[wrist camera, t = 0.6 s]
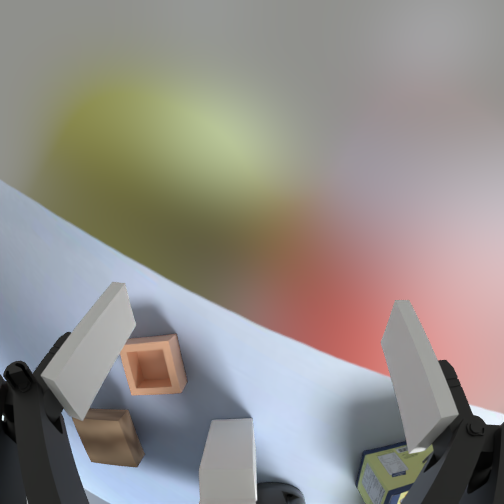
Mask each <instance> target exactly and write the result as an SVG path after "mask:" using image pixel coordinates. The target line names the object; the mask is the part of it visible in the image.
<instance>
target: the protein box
mask: <svg viewBox="0 0 504 504" xmlns="http://www.w3.org/2000/svg"><path fill="white" fill-rule="evenodd" d="M432 451H433V446H432V444H431V445H430V446H429V447H428V448H427V449H426V450H425V451H421V452H416V453H411V454H409V452H408V447H407V442H406V441H405V442H401V443H397V444H393V445H389V446H385V447H381V448H376V449H372V450H367V451H364V452H363V455H362V459H361V464H360V469H359V473H358V477H357V482H356V487H357V489H358V490H359V492H360V494H361V496H362V498H363V500H364V502H365V504H400V503H401V502H402V500H403V499H404V497H405V496H406V494H407V493H408V491H409V490H410V488H411V487H412V485H413V483H414V482H415V480H416V479H417V477H418V475H419V473H420V472H421V470H422V468H423V467H424V465H425V463H426V462H425V463H423V462H422V461H423V460H424V459H425V458H426V457H427V456H428V455H429V454H430V453H431V452H432Z"/></svg>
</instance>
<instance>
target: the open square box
mask: <svg viewBox="0 0 504 504" xmlns="http://www.w3.org/2000/svg"><path fill="white" fill-rule="evenodd" d="M120 355H121V359H122V363H123V367H124V371H125V374H126V378H127V381H128V385H129V388H130V391H131V395H157V394H175V393H182V391H183V389H184V387H185V386H186V384H187V382H188V381H187V377H186V372H185V368H184V364H183V360H182V356H181V351H180V347H179V342H178V337H177V333H176V334H168V335H159V336H150V337H140V338H130V339H128V340H127V342H126V343H125V345H124V347H123V348H122V350H121V352H120Z"/></svg>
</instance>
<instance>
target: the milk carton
mask: <svg viewBox="0 0 504 504" xmlns="http://www.w3.org/2000/svg"><path fill="white" fill-rule="evenodd" d="M199 488H200V502H199V504H256V501H257V474H256V446H255V437H254V427H253V419H252V418H242V419H217V420H212V421H211V425H210V429H209V433H208V437H207V440H206V444H205V448H204V452H203V456H202V460H201V464H200V467H199Z"/></svg>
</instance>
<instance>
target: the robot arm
mask: <svg viewBox="0 0 504 504" xmlns="http://www.w3.org/2000/svg"><path fill="white" fill-rule="evenodd" d="M135 326H136V322H135V319H134V315H133V312H132V308H131V305H130V301H129V297H128V293H127V289H126V285H125V283H117V282H112V283H111V284H110V286H109V287H108V288H107V289H106V290H105V292H104V293H103V294H102V295H101V296H100V298H99V299H98V300H97V301H96V303H95V304H94V305H93V306H92V307H91V309H90V310H89V311H88V312H87V314H86V315H85V316H84V317H83V319H82V320H81V321H80V323H79V324H78V325H77V326H76V328H75V329H74V330H73V332H72V333H71V332H67V333H65V334H64V335H63V336H61V337H60V338H59V339H58V340H57V341H56V343H55V344H54V345H53V347H52V348H51V349H50V351H49V353H47V355H46V356H45V357H44V359H43V360H42V361H41V363H40V364H39V366H38V367H37V368H36V370H35V371H34V373H33V374H32V372H31V370H30V369H29V367H28V366H27V364H26V363H25V362H22V361H15V362H13V363H11V364H10V365H9V366H7V368H6V369H5V371H4V374H3V376H4V378H5V379H6V381H5V380H4V379H3V377H2V376H1V375H0V504H27V500H28V504H89V502H88V499H87V496H86V494H85V491H84V488H83V486H82V483H81V480H80V477H79V474H78V471H77V468H76V464H75V461H74V458H73V454H72V451H71V447H70V443H69V439H68V435H67V431H66V427H65V423H64V418H63V416H62V414H61V412H62V410H63V408H64V410H65V411H66V412H67V413H68V415H69V416H71V417H74V418H76V419H78V420H81V421H83V419H84V418H85V416H86V414H87V412H88V410H89V408H90V406H91V404H92V402H93V400H94V399H95V397H96V395H97V393H98V391H99V389H100V387H101V386H102V384H103V382H104V380H105V378H106V377H107V375H108V373H109V371H110V369H111V368H112V366H113V364H114V362H115V361H116V359H117V357H118V355H119V354H120V352H121V350H122V348H123V347H124V345H125V343H126V342H127V340H128V338H129V337H130V335H131V333H132V331H133V330H134V328H135ZM381 345H382V348H383V352H384V355H385V358H386V362H387V365H388V369H389V372H390V376H391V380H392V383H393V387H394V391H395V395H396V399H397V403H398V407H399V411H400V415H401V419H402V424H403V428H404V433H405V437H406V442H407V447H408V452H409V454H411V453H416V452H421V451H425V450H426V449H427V448H428V447H429V446H430V445H431V444H432V446H433V451H432V452H431V453H430V454H429V455H428V456H427V457H426V458H425V459H424V460H423V461H422V462H423V463H425V462H426V463H425V465H424V467H423V468H422V470H421V472H420V473H419V475H418V477H417V479H416V480H415V482H414V483H413V485H412V487H411V488H410V490H409V491H408V493H407V494H406V496H405V497H404V499H403V500H402V502H401V503H400V504H504V422H503V423H502V424H501V425H487V424H485V422H484V421H483V419H481V418H480V417H479V416H475V415H473V414H472V411H471V409H470V406H469V404H468V401H467V399H466V396H465V394H464V391H463V389H462V387H461V384H460V382H459V379H457V375H456V372H455V370H454V368H453V367H452V366H451V365H450V364H449V363H448V362H447V360H439V361H438V360H437V358H436V356H435V353H434V351H433V349H432V347H431V344H430V342H429V340H428V338H427V336H426V333H425V331H424V329H423V327H422V325H421V323H420V321H419V319H418V317H417V315H416V313H415V311H414V309H413V307H412V305H411V303H410V301H409V300H395V303H394V306H393V309H392V312H391V315H390V318H389V321H388V324H387V326H386V329H385V332H384V335H383V338H382V340H381ZM2 414H3V415H4V421H2ZM26 496H27V500H26ZM256 504H305V499H304V496H303V494H302V493H301V491H299V490H298V489H297V488H295V487H293V486H291V485H288V484H284V483H276V482H267V483H259V484H257V501H256Z"/></svg>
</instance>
